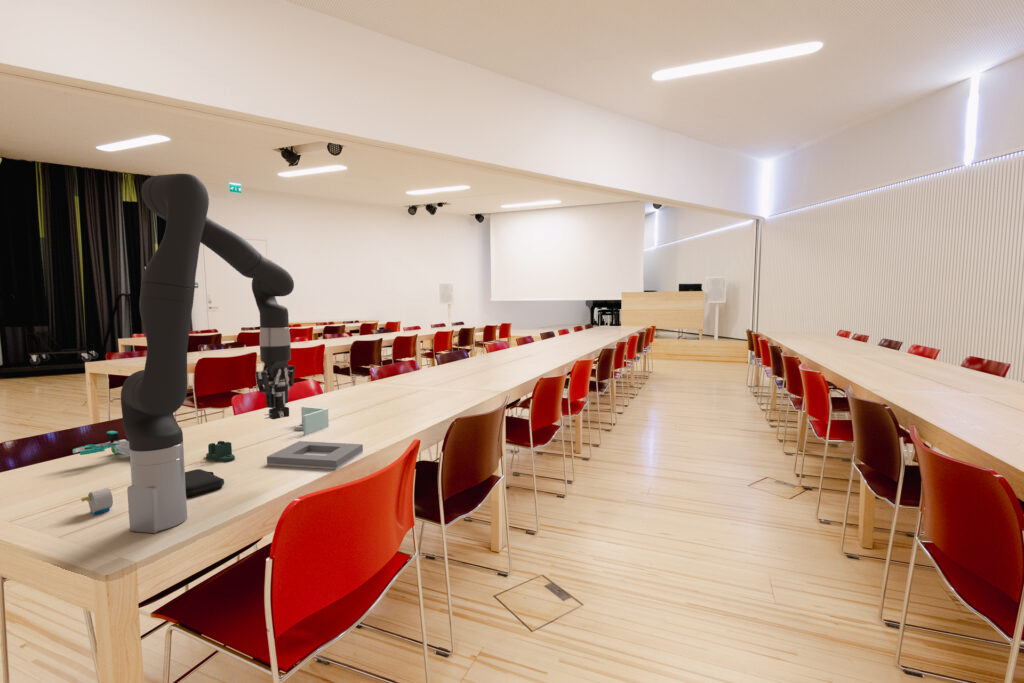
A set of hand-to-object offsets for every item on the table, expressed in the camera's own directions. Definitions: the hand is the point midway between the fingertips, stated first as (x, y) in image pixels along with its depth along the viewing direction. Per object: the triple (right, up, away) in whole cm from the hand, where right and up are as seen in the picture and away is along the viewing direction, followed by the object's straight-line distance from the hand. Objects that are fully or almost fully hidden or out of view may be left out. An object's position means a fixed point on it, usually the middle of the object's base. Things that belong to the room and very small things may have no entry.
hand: (277, 405), depth 132 cm
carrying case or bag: (-17, -21, -8) cm, 28 cm away
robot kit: (-52, -19, +14) cm, 57 cm away
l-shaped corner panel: (-13, -16, +48) cm, 53 cm away
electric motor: (-30, -22, -23) cm, 43 cm away
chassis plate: (+5, -18, +14) cm, 24 cm away
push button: (0, -4, 0) cm, 4 cm away
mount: (-24, -19, +14) cm, 34 cm away
